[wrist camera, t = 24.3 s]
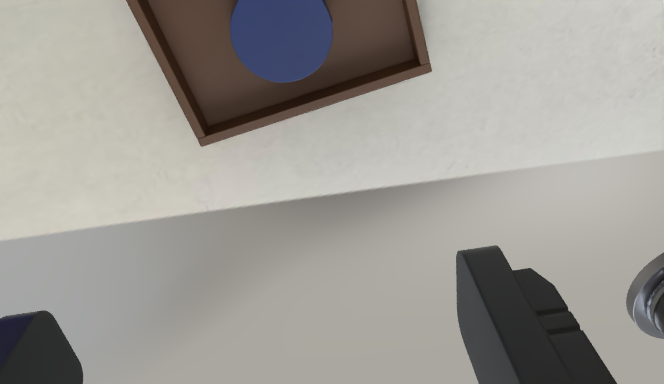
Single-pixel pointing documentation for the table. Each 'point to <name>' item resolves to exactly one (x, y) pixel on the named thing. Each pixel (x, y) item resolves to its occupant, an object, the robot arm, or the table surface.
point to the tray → (267, 96)
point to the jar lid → (281, 37)
